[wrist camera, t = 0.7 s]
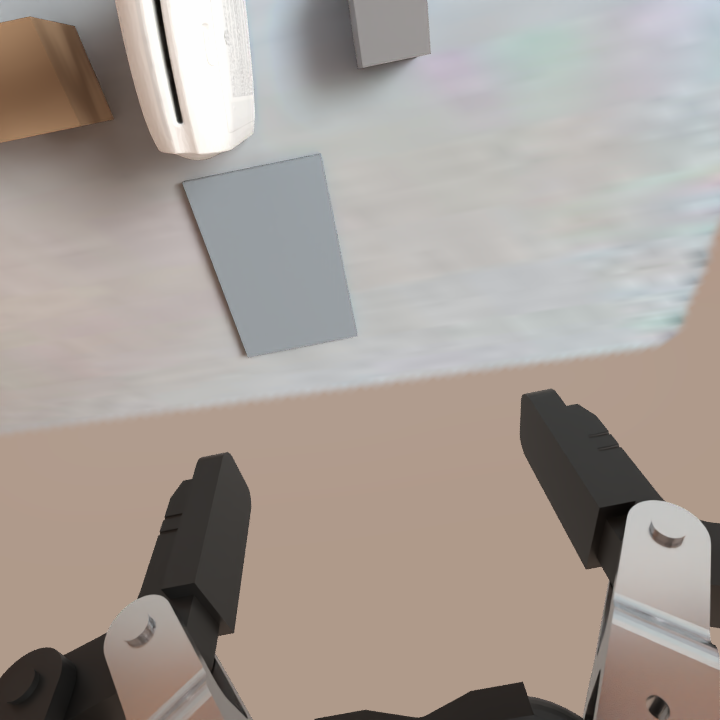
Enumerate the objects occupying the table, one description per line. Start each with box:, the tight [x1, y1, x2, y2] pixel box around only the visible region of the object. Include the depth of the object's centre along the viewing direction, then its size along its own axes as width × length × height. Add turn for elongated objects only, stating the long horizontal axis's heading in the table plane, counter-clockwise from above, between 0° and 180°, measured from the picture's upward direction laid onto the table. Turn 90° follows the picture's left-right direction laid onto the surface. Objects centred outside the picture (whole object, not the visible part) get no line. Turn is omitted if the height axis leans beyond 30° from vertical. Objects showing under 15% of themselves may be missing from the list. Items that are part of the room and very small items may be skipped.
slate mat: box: [182, 154, 357, 357], centre depth 35 cm, size 15×10×1 cm, turn 10°
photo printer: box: [115, 0, 255, 160], centre depth 22 cm, size 10×4×12 cm, turn 179°
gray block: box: [348, 0, 431, 69], centre depth 26 cm, size 5×4×4 cm
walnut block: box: [0, 17, 114, 143], centre depth 26 cm, size 5×5×5 cm
